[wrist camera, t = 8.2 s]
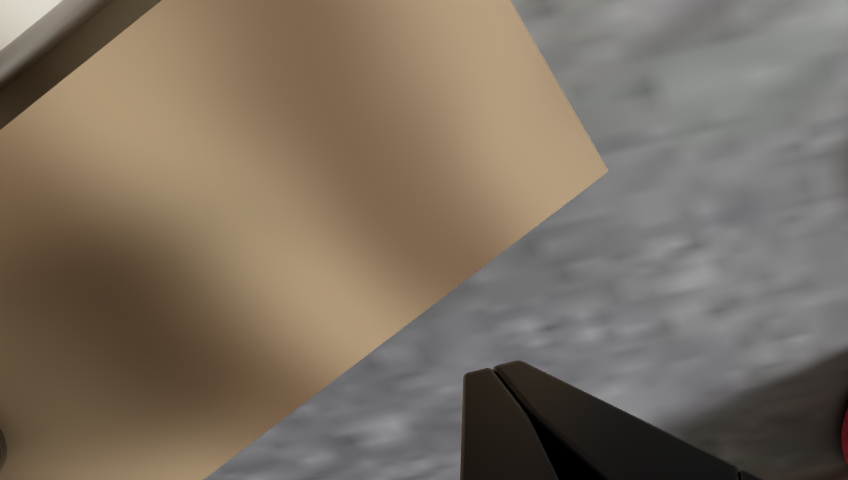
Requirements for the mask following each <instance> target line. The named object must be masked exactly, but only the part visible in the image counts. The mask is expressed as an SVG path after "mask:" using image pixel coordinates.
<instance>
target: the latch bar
mask: <svg viewBox="0 0 848 480" xmlns="http://www.w3.org/2000/svg"><path fill="white" fill-rule="evenodd" d="M6 456H7V446H6V440H5V437H4V435H3V433H2V431H1V429H0V471H1V470H2V468H3V466H4V463H5V460H6Z"/></svg>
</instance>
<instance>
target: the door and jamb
mask: <svg viewBox="0 0 848 480" xmlns="http://www.w3.org/2000/svg"><path fill="white" fill-rule="evenodd" d="M607 172H608V169H607V167H606V165H605V164H604V162H603V160H602V158H601V157H600V155H599V153H598V152H597V150H596V148H595V146H594V145H593V143H592V141H591V139H590V138H589V136H588V134H587V132H586V131H585V129H584V127H583V125H582V124H581V122H580V120H579V119H578V117H577V115H576V113H575V112H574V110H573V108H572V106H571V105H570V103H569V101H568V99H567V98H566V96H565V94H564V93H563V91H562V89H561V87H560V86H559V84H558V82H557V80H556V79H555V77H554V75H553V73H552V72H551V70H550V68H549V67H548V65H547V63H546V61H545V60H544V58H543V56H542V54H541V53H540V51H539V49H538V47H537V46H536V44H535V42H534V40H533V39H532V37H531V35H530V34H529V32H528V30H527V28H526V27H525V25H524V23H523V21H522V20H521V18H520V16H519V14H518V13H517V11H516V9H515V8H514V6H513V4H512V2H511V1H510V0H0V429H1V431H2V433H3V435H4V437H5V440H6V446H7V456H6V460H5V463H4V466H3V468H2V470H1V471H0V480H204V479H205V478H206V477H207V476H209V475H210V474H211V473H213V472H214V471H215V470H217V469H218V468H219V467H221V466H222V465H223V464H225V463H226V462H227V461H228V460H230V459H231V458H232V457H234V456H235V455H236V454H238V453H239V452H240V451H242V450H243V449H244V448H246V447H247V446H248V445H250V444H251V443H252V442H253V441H255V440H256V439H257V438H259V437H260V436H261V435H263V434H264V433H265V432H267V431H268V430H269V429H271V428H272V427H273V426H274V425H276V424H277V423H278V422H280V421H281V420H282V419H284V418H285V417H286V416H288V415H289V414H290V413H292V412H293V411H294V410H296V409H297V408H298V407H299V406H301V405H302V404H303V403H305V402H306V401H307V400H309V399H310V398H311V397H313V396H314V395H315V394H317V393H318V392H319V391H320V390H322V389H323V388H324V387H326V386H327V385H328V384H330V383H331V382H332V381H334V380H335V379H336V378H338V377H339V376H340V375H342V374H343V373H344V372H345V371H347V370H348V369H349V368H351V367H352V366H353V365H355V364H356V363H357V362H359V361H360V360H361V359H363V358H364V357H365V356H366V355H368V354H369V353H370V352H372V351H373V350H374V349H376V348H377V347H378V346H380V345H381V344H382V343H384V342H385V341H386V340H388V339H389V338H390V337H391V336H393V335H394V334H395V333H397V332H398V331H399V330H401V329H402V328H403V327H405V326H406V325H407V324H409V323H410V322H411V321H412V320H414V319H415V318H416V317H418V316H419V315H420V314H422V313H423V312H424V311H426V310H427V309H428V308H430V307H431V306H432V305H434V304H435V303H436V302H437V301H439V300H440V299H441V298H443V297H444V296H445V295H447V294H448V293H449V292H451V291H452V290H453V289H455V288H456V287H457V286H458V285H460V284H461V283H462V282H464V281H465V280H466V279H468V278H469V277H470V276H472V275H473V274H474V273H476V272H477V271H478V270H480V269H481V268H482V267H483V266H485V265H486V264H487V263H489V262H490V261H491V260H493V259H494V258H495V257H497V256H498V255H499V254H501V253H502V252H503V251H504V250H506V249H507V248H508V247H510V246H511V245H512V244H514V243H515V242H516V241H518V240H519V239H520V238H522V237H523V236H524V235H526V234H527V233H528V232H529V231H531V230H532V229H533V228H535V227H536V226H537V225H539V224H540V223H541V222H543V221H544V220H545V219H547V218H548V217H549V216H550V215H552V214H553V213H554V212H556V211H557V210H558V209H560V208H561V207H562V206H564V205H565V204H566V203H568V202H569V201H570V200H572V199H573V198H574V197H575V196H577V195H578V194H579V193H581V192H582V191H583V190H585V189H586V188H587V187H589V186H590V185H591V184H593V183H594V182H595V181H596V180H598V179H599V178H600V177H602V176H603V175H604V174H606V173H607Z"/></svg>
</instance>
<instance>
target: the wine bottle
mask: <svg viewBox="0 0 848 480" xmlns="http://www.w3.org/2000/svg"><path fill="white" fill-rule="evenodd" d="M841 444H842V450H843V453H844V457H845V460H846V462H847V464H848V408H847V411H846V414H845V417H844V422H843V426H842V433H841Z"/></svg>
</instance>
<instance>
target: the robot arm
mask: <svg viewBox="0 0 848 480" xmlns="http://www.w3.org/2000/svg"><path fill="white" fill-rule="evenodd" d="M460 480H764V479H762V478H760V477H758V476H756V475H754V474H752V473H750V472H748V471H746V470H743V469H742V470H740V471H739V472H738V468H737V467H736V466H735V465H733V464H731V463H729V462H727V461H725V460H723V459H721V458H719V457H717V456H715V455H713V454H711V453H709V452H707V451H704V450H702V449H700V448H698V447H696V446H694V445H692V444H690V443H688V442H686V441H684V440H682V439H680V438H678V437H676V436H674V435H672V434H670V433H668V432H666V431H664V430H662V429H660V428H658V427H655V426H653V425H651V424H649V423H647V422H645V421H643V420H641V419H639V418H637V417H635V416H633V415H631V414H629V413H627V412H625V411H623V410H621V409H619V408H617V407H615V406H613V405H611V404H608V403H606V402H604V401H602V400H600V399H598V398H596V397H594V396H592V395H590V394H588V393H586V392H584V391H582V390H580V389H578V388H576V387H574V386H572V385H570V384H568V383H566V382H564V381H562V380H559V379H557V378H555V377H553V376H551V375H549V374H547V373H545V372H543V371H541V370H539V369H537V368H535V367H533V366H531V365H529V364H527V363H525V362H522V361H513V362H509V363H505V364H501V365H497V366H495V367H494V368H493V370H492V369H490V368H486V369H482V370H478V371H474V372H470V373H467V374H465V375H464V378H463V406H462V439H461V472H460Z"/></svg>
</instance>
